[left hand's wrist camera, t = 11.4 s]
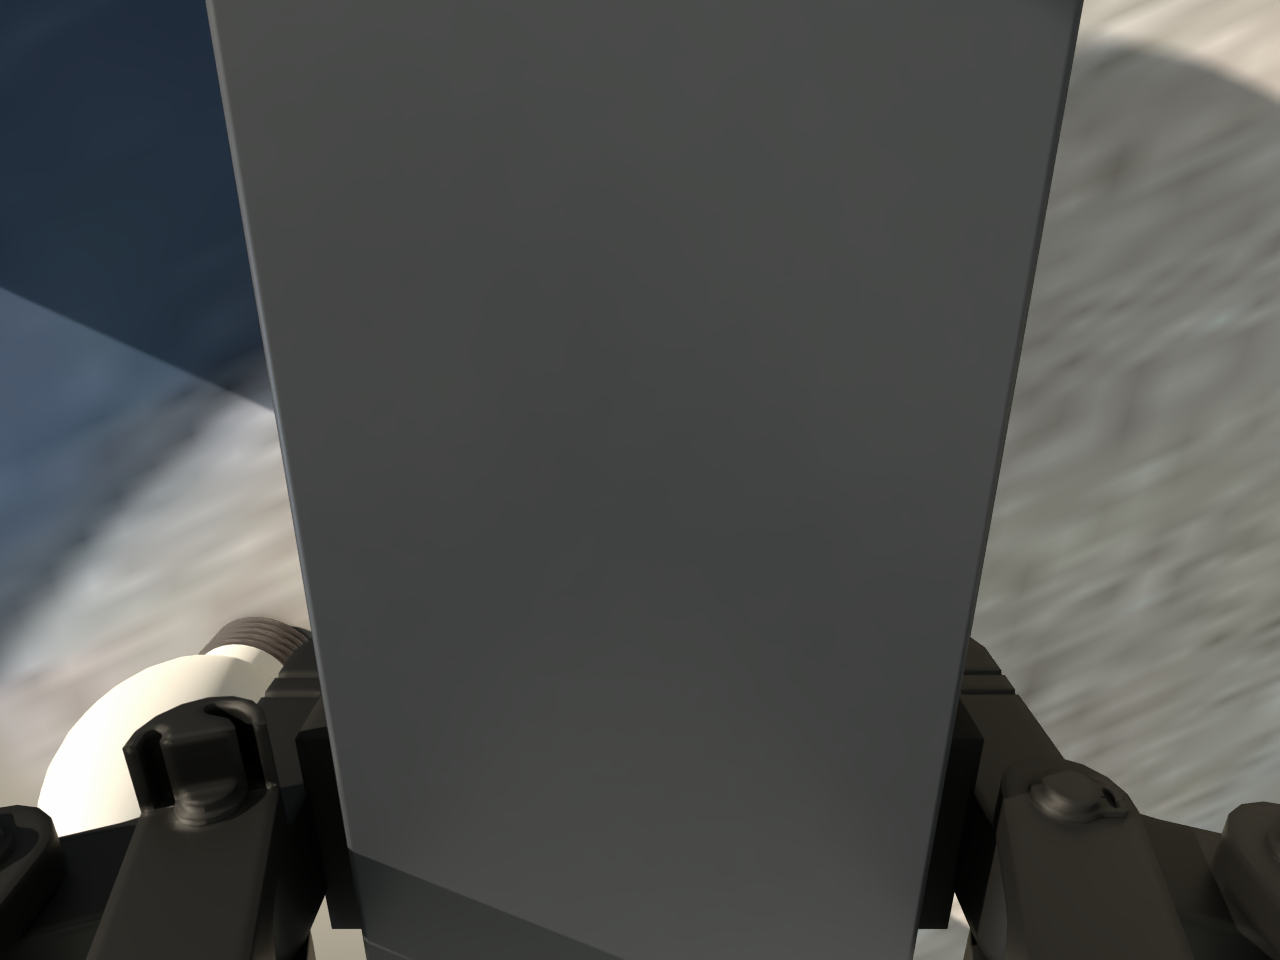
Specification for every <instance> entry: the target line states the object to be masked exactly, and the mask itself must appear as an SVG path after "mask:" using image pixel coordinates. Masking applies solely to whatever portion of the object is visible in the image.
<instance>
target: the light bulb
mask: <svg viewBox="0 0 1280 960" xmlns="http://www.w3.org/2000/svg"><path fill="white" fill-rule="evenodd" d="M307 641H308V640H307V639H306V638H305V637H304V635H302V634H301V633H300V632H298V631H297V630H296V629H294V628H292V627H291V626H289V625H286V624H284V623H282V622H279V621H276V620H272V619H268V618H260V617H249V618H243V619H238V620H235V621H233V622H231V623H229V624H227V625H226V626H224V627H223V628H222V629H221V630H220V631H219V632H218V633H217V634H216V635H215V637H214V638H213V639H212V640H211V641H210V642H209V643H208V644H207V645H206V646H205V647H204V649H203V650H202V651H201V652H200V653H199V654H198V655H193V656H186V657H180V658H177V659H173V660H170V661H167V662H164V663H161V664H158V665H155V666H152V667H149V668H147V669H145V670H143V671H141V672H140V673H138V674H136V675H134V676H132V677H131V678H129V679H127V680H125V681H124V682H122V683H120V684H119V685H117V686H115V687H114V688H113V689H112V690H110V691H109V692H108V693H107V694H106V695H104V696H103V697H102V698H101V699H99V700H98V701H97V702H96V703H95V704H94V705H93V706H92V707H91V708H90V709H89V710H88V711H87V712H86V713H85V714H84V715H83V716H82V717H81V719H80V720H79V721H78V722H77V723H76V724H75V726H74V727H73V728H72V729H71V730H70V731H69V733H68V734H67V736H66V738H65V740H64V741H63V743H62V745H61V747H60V748H59V750H58V752H57V753H56V755H55V757H54V759H53V760H52V762H51V764H50V766H49V768H48V771H47V774H46V777H45V780H44V783H43V786H42V789H41V793H40V797H39V801H38V808H40V809H41V810H43V811H44V812H45V813H46V814H48V815H49V816H50V817H52V820H53V823H54V826H55V829H56V832H57V834H58V837H61V836H65V835H70V834H74V833H78V832H83V831H87V830H91V829H96V828H100V827H104V826H109V825H113V824H117V823H121V822H125V821H128V820H131V819H135V818H138V817H140V815H141V811H140V807H139V804H138V801H137V797H136V794H135V791H134V787H133V784H132V780H131V777H130V774H129V770H128V767H127V764H126V760H125V757H124V753H123V750H122V748H123V747H124V745H125V744H126V743H127V741H128V740H129V739H130V737H131V736H132V735H133V733H134V732H135V731H136V730H137V729H139V728H140V727H142V726H143V725H144V724H146V723H147V722H148V721H150V720H151V719H152V718H154V717H155V716H157V715H159V714H161V713H163V712H166V711H168V710H170V709H172V708H174V707H176V706H179V705H181V704H184V703H188V702H192V701H196V700H199V699H203V698H207V697H221V696H236V697H240V698H245V699H249V700H253V701H254V702H255V703H256V704H257V703H258V701H259V700H260V698H261V697H265V691H266V690H267V689H268V687H269V686H270V684H271V683H272V681H273V680H274V679H275V678H278V673H279V672H280V670H281V669H282V667H283V666H284V664H285V663H286V662H287V660H288V659H289V657H290V656H291V655H292V653H293V652H294V650H295V649H297V648H298V647H300V646H301V645H302V644H304V643H305V642H307Z"/></svg>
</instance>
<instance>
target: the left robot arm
mask: <svg viewBox="0 0 1280 960" xmlns="http://www.w3.org/2000/svg"><path fill="white" fill-rule="evenodd" d="M122 750H123V753H124V757H125V760H126V764H127V767H128V770H129V774H130V777H131V780H132V784H133V787H134V791H135V794H136V797H137V801H138V804H139V807H140V811H141V815H140V817H138V818H135V819H131V820H128V821H125V822H121V823H117V824H113V825H109V826H104V827H100V828H96V829H91V830H87V831H83V832H78V833H74V834H70V835H65V836H61V837H58V834H57V832H56V829H55V826H54V823H53V820H52V817H50V816H49V815H48V814H46V813H45V812H44V811H43V810H41V809H40V808H37V807H29V806H21V805H14V806H8V807H1V808H0V960H316V958H315V952H314V946H313V940H312V935H311V931H310V929H311V927H312V924H313V922H314V920H315V917H316V915H317V913H318V910H319V908H320V905H321V903H322V901H323V899H324V896H326V901H327V906H328V911H329V916H330V921H331V926H332V929H361V923H360V917H359V911H358V905H357V899H356V893H355V887H354V881H353V875H352V869H351V863H350V858H349V852H348V846H347V840H346V834H345V828H344V822H343V816H342V810H341V804H340V798H339V792H338V786H337V780H336V774H335V768H334V762H333V756H332V751H331V745H330V739H329V733H328V727H327V721H326V715H325V709H324V703H323V697H322V691H321V685H320V679H319V673H318V667H317V661H316V655H315V649H314V643H313V638H311V639H310V640H308V641H307V642H305V643H304V644H302V645H301V646H300V647H298V648H297V649H295V650H294V652H293V653H292V655H291V656H290V657H289V659H288V660H287V662H286V663H285V664H284V666H283V667H282V669H281V670H280V672H279V673H278V678H275V679H274V680H273V681H272V683H271V684H270V686H269V687H268V689H267V690H266V691H265V697H261V698H260V700H259V701H258V703H257V704H256V703H255V702H254V701H253V700H249V699H245V698H240V697H236V696H221V697H207V698H203V699H199V700H196V701H192V702H188V703H184V704H181V705H179V706H176V707H174V708H172V709H170V710H168V711H166V712H163V713H161V714H159V715H157V716H155V717H154V718H152V719H151V720H150V721H148V722H147V723H146V724H144V725H143V726H142V727H140V728H139V729H137V730H136V731H135V732H134V733H133V735H132V736H131V737H130V739H129V740H128V741H127V743H126V744H125V745H124V747H123V748H122ZM954 892H955V894H956V896H957V899H958V901H959V903H960V906H961V908H962V910H963V913H964V915H965V917H966V920H967V922H968V924H969V926H970V931H969V935H968V940H967V945H966V950H965V954H964V959H963V960H1280V804H1276V803H1269V802H1256V803H1248V804H1241V805H1240V806H1238V807H1237V808H1236V809H1235V810H1233V811H1232V812H1231V813H1229V815H1228V818H1227V821H1226V824H1225V826H1224V829H1223V832H1222V834H1220V833H1216V832H1212V831H1207V830H1203V829H1199V828H1194V827H1190V826H1185V825H1181V824H1177V823H1172V822H1168V821H1163V820H1159V819H1156V818H1153V817H1149V816H1146V815H1142V814H1140V813H1139V811H1138V810H1137V808H1136V807H1135V805H1134V804H1133V802H1132V800H1131V799H1130V797H1129V796H1128V794H1127V793H1126V792H1124V791H1123V790H1122V789H1121V788H1120V787H1118V786H1117V785H1116V784H1115V783H1114V782H1112V781H1111V780H1110V779H1109V778H1108V777H1106V776H1104V775H1102V774H1100V773H1098V772H1096V771H1094V770H1092V769H1090V768H1089V767H1087V766H1085V765H1083V764H1079V763H1076V762H1072V761H1069V760H1065V759H1064V758H1063V756H1062V755H1061V754H1060V752H1059V751H1058V749H1057V748H1056V747H1055V745H1054V744H1053V742H1052V741H1051V740H1050V738H1049V737H1048V735H1047V734H1046V733H1045V731H1044V730H1043V728H1042V727H1041V726H1040V724H1039V723H1038V721H1037V720H1036V719H1035V717H1034V716H1033V714H1032V713H1031V711H1030V710H1029V709H1028V707H1027V706H1026V704H1025V703H1024V702H1023V700H1022V699H1021V697H1020V696H1019V695H1016V694H1015V689H1014V688H1013V686H1012V685H1011V683H1010V682H1009V681H1008V679H1007V678H1006V676H1005V675H1002V674H1001V669H1000V668H999V667H998V665H997V664H996V662H995V661H994V659H993V658H992V657H991V655H990V654H989V652H988V651H987V650H986V648H985V647H984V646H982V645H981V644H979V643H978V642H976V641H975V640H974V639H972V638H971V637H970V641H969V646H968V652H967V658H966V663H965V669H964V674H963V680H962V686H961V691H960V697H959V702H958V708H957V714H956V719H955V725H954V730H953V736H952V742H951V747H950V753H949V758H948V764H947V770H946V775H945V781H944V786H943V792H942V798H941V803H940V809H939V815H938V820H937V826H936V831H935V837H934V843H933V848H932V854H931V859H930V865H929V871H928V876H927V882H926V887H925V893H924V899H923V904H922V910H921V915H920V921H919V927H918V929H947V928H948V923H949V918H950V913H951V908H952V903H953V897H954Z"/></svg>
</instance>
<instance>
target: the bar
mask: <svg viewBox="0 0 1280 960" xmlns="http://www.w3.org/2000/svg"><path fill="white" fill-rule="evenodd" d="M205 1H206V7H207V13H208V19H209V25H210V31H211V37H212V43H213V49H214V55H215V61H216V67H217V73H218V79H219V85H220V91H221V97H222V102H223V108H224V114H225V120H226V126H227V132H228V138H229V144H230V150H231V156H232V162H233V168H234V174H235V180H236V186H237V192H238V198H239V204H240V210H241V215H242V221H243V227H244V233H245V239H246V245H247V251H248V257H249V263H250V269H251V275H252V281H253V287H254V293H255V299H256V305H257V311H258V317H259V322H260V328H261V334H262V340H263V346H264V352H265V358H266V364H267V370H268V376H269V382H270V388H271V394H272V400H273V406H274V412H275V418H276V424H277V429H278V435H279V441H280V447H281V453H282V459H283V465H284V471H285V477H286V483H287V489H288V495H289V501H290V507H291V513H292V519H293V525H294V531H295V536H296V542H297V548H298V554H299V560H300V566H301V572H302V578H303V584H304V590H305V596H306V602H307V608H308V614H309V620H310V626H311V632H312V638H313V643H314V649H315V655H316V661H317V667H318V673H319V679H320V685H321V691H322V697H323V703H324V709H325V715H326V721H327V727H328V733H329V739H330V745H331V751H332V756H333V762H334V768H335V774H336V780H337V786H338V792H339V798H340V804H341V810H342V816H343V822H344V828H345V834H346V840H347V846H348V852H349V858H350V863H351V869H352V875H353V881H354V887H355V893H356V899H357V905H358V911H359V917H360V923H361V929H362V935H363V941H364V947H365V953H366V959H367V960H913V955H914V949H915V943H916V938H917V932H918V927H919V921H920V915H921V910H922V904H923V899H924V893H925V887H926V882H927V876H928V871H929V865H930V859H931V854H932V848H933V843H934V837H935V831H936V826H937V820H938V815H939V809H940V803H941V798H942V792H943V786H944V781H945V775H946V770H947V764H948V758H949V753H950V747H951V742H952V736H953V730H954V725H955V719H956V714H957V708H958V702H959V697H960V691H961V686H962V680H963V674H964V669H965V663H966V658H967V652H968V646H969V641H970V635H971V630H972V624H973V618H974V613H975V607H976V601H977V596H978V590H979V585H980V579H981V573H982V568H983V562H984V557H985V551H986V545H987V540H988V534H989V529H990V523H991V517H992V512H993V506H994V501H995V495H996V489H997V484H998V478H999V473H1000V467H1001V461H1002V456H1003V450H1004V445H1005V439H1006V433H1007V428H1008V422H1009V416H1010V411H1011V405H1012V400H1013V394H1014V388H1015V383H1016V377H1017V372H1018V366H1019V360H1020V355H1021V349H1022V344H1023V338H1024V332H1025V327H1026V321H1027V316H1028V310H1029V304H1030V299H1031V293H1032V288H1033V282H1034V276H1035V271H1036V265H1037V260H1038V254H1039V248H1040V243H1041V237H1042V231H1043V226H1044V220H1045V215H1046V209H1047V203H1048V198H1049V192H1050V187H1051V181H1052V175H1053V170H1054V164H1055V159H1056V153H1057V147H1058V142H1059V136H1060V131H1061V125H1062V119H1063V114H1064V108H1065V103H1066V97H1067V91H1068V86H1069V80H1070V75H1071V69H1072V63H1073V58H1074V52H1075V47H1076V41H1077V35H1078V30H1079V24H1080V18H1081V13H1082V7H1083V2H1084V0H205Z"/></svg>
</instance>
